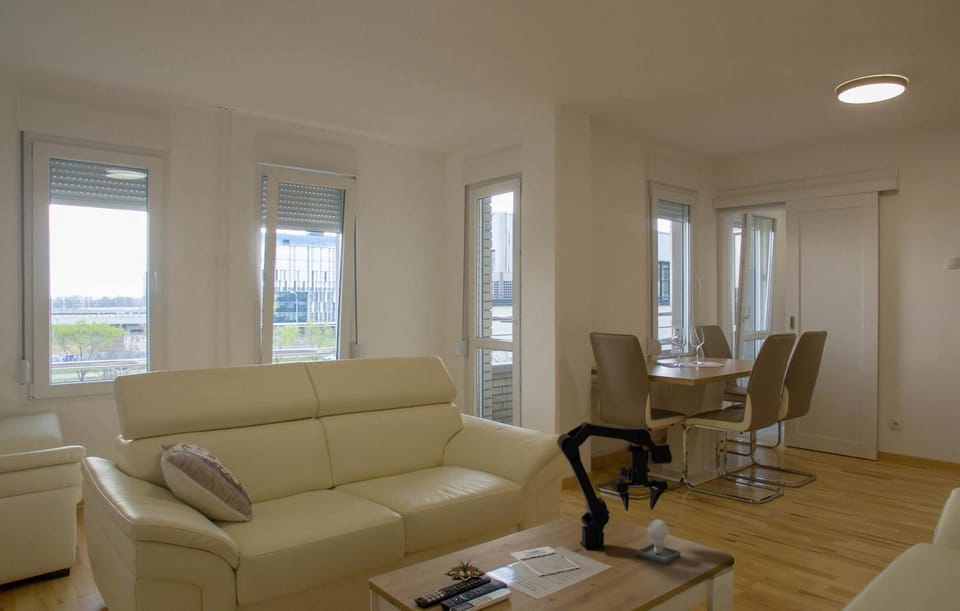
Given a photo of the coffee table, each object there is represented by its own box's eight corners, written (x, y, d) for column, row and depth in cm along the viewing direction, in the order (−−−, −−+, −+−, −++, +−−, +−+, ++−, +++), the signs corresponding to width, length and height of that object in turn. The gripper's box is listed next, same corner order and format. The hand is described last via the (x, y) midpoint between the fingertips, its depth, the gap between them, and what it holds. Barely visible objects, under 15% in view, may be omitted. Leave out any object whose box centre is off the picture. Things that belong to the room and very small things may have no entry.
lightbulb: (669, 551, 201) (669, 518, 202) (666, 558, 196) (666, 524, 196) (649, 548, 204) (649, 515, 204) (646, 555, 198) (646, 521, 198)
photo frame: (548, 545, 206) (579, 566, 190) (548, 549, 206) (579, 569, 190) (509, 552, 199) (538, 574, 183) (509, 556, 199) (538, 578, 183)
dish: (664, 565, 192) (664, 559, 192) (636, 556, 200) (636, 550, 200) (680, 557, 199) (680, 551, 199) (652, 548, 207) (652, 542, 207)
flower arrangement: (466, 588, 176) (466, 572, 176) (436, 575, 184) (437, 560, 184) (493, 575, 185) (493, 559, 185) (464, 563, 193) (464, 549, 193)
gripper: (653, 457, 219) (652, 501, 219) (604, 459, 215) (603, 504, 215) (669, 465, 208) (668, 511, 208) (617, 467, 204) (617, 514, 204)
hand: (639, 510), depth 209 cm, fingers open, 9 cm apart
